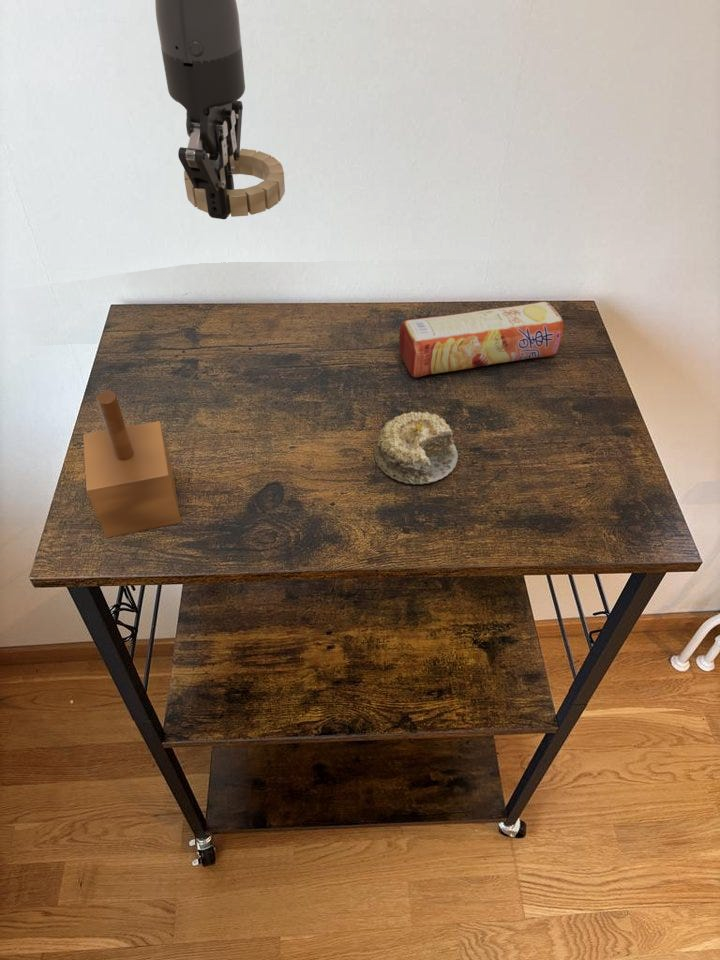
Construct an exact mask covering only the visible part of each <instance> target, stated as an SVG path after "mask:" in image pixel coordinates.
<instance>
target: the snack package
mask: <svg viewBox="0 0 720 960" xmlns="http://www.w3.org/2000/svg"><path fill="white" fill-rule="evenodd" d="M564 326H565V324H564V320H563V318H562V317H561V315H560V314H559V312H558V311H557V310H556V309H555V307H554V306H553V305H551V304H550V303H549V302H547V301H538V302H533V303H532V302H531V303H525V304H520V305H519V304H518V305H514V306H505V307H497V308H489V309H482V310H481V309H480V310H475V311H468V312H461V313H454V314H447V315H446V314H445V315H438V316H429V317H422V318H412V319H411V318H409V319H406V320H404V321H402V322H401V324H400V328H399V334H398V335H399V337H398V338H399V339H398V342H399V350H400V355H401V358H402V361H403V363H404V365H405V367H406V369H407V371H408V373H409V374H410V376H411V377H413V378H421V377H425V376H429V375H436V374H437V375H438V374H443V373H449V372H456V371H463V370H469V369H474V368H479V367H485V366H490V365H497V364H503V363H509V362H516V361H517V362H518V361H522V360H529V359H537V358H548V357H551V356H554V355H556V354H557V352H558V350H559V349H560V346H561V342H562V339H563V336H564V329H565V327H564Z"/></svg>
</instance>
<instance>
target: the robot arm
mask: <svg viewBox="0 0 720 960" xmlns="http://www.w3.org/2000/svg"><path fill="white" fill-rule="evenodd" d="M154 3H155V8H154V9H155V17H156V26H157V31H158V37H159V42H160V50H161V55H162V56H161V57H162V62H163V67H164V73H165V79H166V85H167V92H168V93H169V97H171V98H172V99H173V100H174V101H175V102H177V103H178V104H180V105H181V106H182V107H183V108H184V109H185V110H186V119H185V128H186V134H187V136H188V137H189V141H188V144H187V147H183V146H179V149H178V151H177V152H178V153H177V154H178V156H177V157H178V159H179V161H180V163H181V166H182V167H183V169H184V171H186V173H187V175H188V177H189V179H190V181H191V182H192V184H193V186H194V188H196V189H205V193H206V200H207V207H208V213H207V214H208V216H209V217H210V218H212V219H216V220H227V218H228V215H229V206H228V197H227V189H228V190H233V189H235V183H234V175H235V174H234V172H235V163H234V161H238V160H239V157H240V150H241V139H242V138H241V136H242V123H243V109H244V105H243V101H241V100H240V99H241V98H242V97H243V95H244V94H245V90H246V81H245V80H246V79H245V70H244V57H243V48H242V36H241V24H240V16H239V15H240V14H239V9H238V4H237V0H154ZM232 174H233V175H232ZM229 216H230V215H229Z"/></svg>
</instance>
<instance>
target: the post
mask: <svg viewBox="0 0 720 960" xmlns="http://www.w3.org/2000/svg"><path fill="white" fill-rule="evenodd" d="M117 397H118V396H117V395H116V393H115V392H114V391H112V390H104V391H101V392H100V393H98V394H97V396H96V403H97V406H98V408H99V411H100V413H101V417H102V420H103V422H104V425H105V428H106V430H101V431H100V430H99V431H94V432H90V433H89V432H88V433H84V434H83V435H82V437H83V454H84V469H85V470H84V471H85V485H86V492H87V495H88V498H89V500H90V502H91V505H92V507H93V510H94V512H95V514H96V517H97V519H98V522H99V524H100V527H101V529H102V532H103V534H104V537H105V539H108V538H115V537H119V536H123V535H128V534H132V533H137V532H143V531H147V530H151V529H157V528H161V527H168V526H171V525H172V526H173V525H176V524H180V523H182V518H181V511H180V506H179V499H178V492H177V487H176V483H175V482H176V481H175V474H174V469H173V465H172V461H171V458H170V454H169V450H168V446H167V443H166V438H165V434H164V431H163V425H162V422H161V420H157V421H151V422H145V423H140V424H134V425H128V426H126V423H125V420H124V417H123V413H122V411H121V407H120V403H119V401H118V398H117Z"/></svg>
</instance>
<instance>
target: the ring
mask: <svg viewBox="0 0 720 960" xmlns="http://www.w3.org/2000/svg"><path fill="white" fill-rule="evenodd" d="M234 163H235V172H234V174H232V175H233V176H234V175H245V176H252V177H255V178H258V179H260V180H262V181H260V182H259V183H258V184H255V185H252V186H249V187H245V188H236V189H235V188H234V189H233V190H228V189H227V197H228V206H229V215H228V217H230V216H231V218H232V217H233V218H236V217H246V216H249V214H250V215H251V216H253V215H257V214H261V213H263V212H266V211H267V210H271V209H272V208H273V207H275V206H276V205H278V204H279V203H280V202H281V201H282V199H283V197H284V196H285V192H286V185H285V172H284V167H283V164H282V163H281V162H280V161H279V160H278V159H277V158H275V157H274V156H272V155H271V154H268V153H266V152H263V151H260V150H258V151H257V150H256V149H247V148H240V157H239V160H238V161H234ZM183 180H184V185H185V191H186V197H187V200H188V201H189V203H190V204H192V206H193V207H194V208H196V209H198V210H200V211H202V212H204V213H207V214H208V207H207V200H206V193H205V189H196V188H194V186H193V184H192V182H191V181H190V179H189V177H188V175H187V173H186V171H185V170H183ZM228 217H227V218H228Z"/></svg>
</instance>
